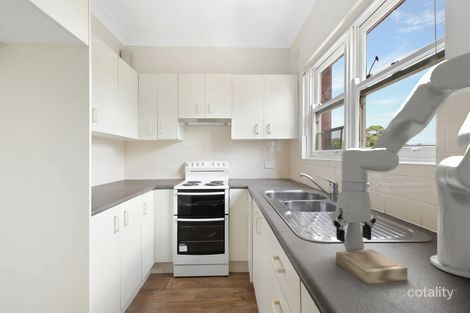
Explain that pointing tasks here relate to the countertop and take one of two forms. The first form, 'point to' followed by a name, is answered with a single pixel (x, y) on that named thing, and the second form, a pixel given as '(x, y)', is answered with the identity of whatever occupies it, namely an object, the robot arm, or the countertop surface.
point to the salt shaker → (353, 237)
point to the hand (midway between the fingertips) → (353, 239)
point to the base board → (371, 266)
